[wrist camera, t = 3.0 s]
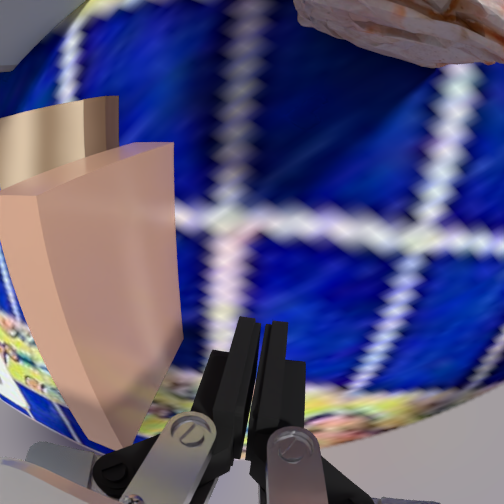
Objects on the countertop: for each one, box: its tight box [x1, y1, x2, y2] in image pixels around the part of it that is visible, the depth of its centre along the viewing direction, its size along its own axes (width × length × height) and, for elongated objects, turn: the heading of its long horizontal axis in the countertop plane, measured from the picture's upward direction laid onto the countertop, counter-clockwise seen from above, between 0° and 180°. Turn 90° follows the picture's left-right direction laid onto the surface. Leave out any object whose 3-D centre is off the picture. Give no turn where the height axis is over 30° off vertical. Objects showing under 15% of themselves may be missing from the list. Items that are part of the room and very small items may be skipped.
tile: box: [0, 142, 184, 451], centre depth 13 cm, size 2×12×9 cm, turn 176°
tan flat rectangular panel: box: [0, 100, 85, 190], centre depth 17 cm, size 9×17×1 cm, turn 176°
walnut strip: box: [83, 96, 119, 157], centre depth 17 cm, size 1×17×1 cm, turn 177°
